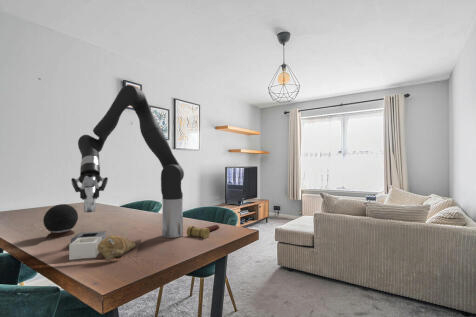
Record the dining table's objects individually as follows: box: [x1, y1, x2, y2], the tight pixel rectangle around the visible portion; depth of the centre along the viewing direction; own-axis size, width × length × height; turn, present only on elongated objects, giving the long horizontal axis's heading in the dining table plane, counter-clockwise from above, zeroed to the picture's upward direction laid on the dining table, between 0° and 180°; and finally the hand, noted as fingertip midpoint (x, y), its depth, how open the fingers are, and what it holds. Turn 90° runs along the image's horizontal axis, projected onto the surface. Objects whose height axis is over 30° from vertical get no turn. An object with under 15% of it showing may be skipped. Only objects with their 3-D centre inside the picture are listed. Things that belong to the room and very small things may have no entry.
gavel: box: [186, 224, 220, 239], centre depth 124 cm, size 21×5×10 cm
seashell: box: [97, 234, 137, 261], centre depth 91 cm, size 14×8×8 cm, turn 163°
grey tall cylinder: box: [83, 177, 96, 213], centre depth 103 cm, size 4×4×14 cm
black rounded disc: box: [42, 203, 79, 240], centre depth 117 cm, size 13×13×15 cm
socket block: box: [70, 230, 107, 244], centre depth 103 cm, size 10×10×4 cm
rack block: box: [68, 237, 102, 263], centre depth 90 cm, size 8×8×6 cm
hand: (89, 197), depth 102 cm, fingers closed on grey tall cylinder, 4 cm apart
